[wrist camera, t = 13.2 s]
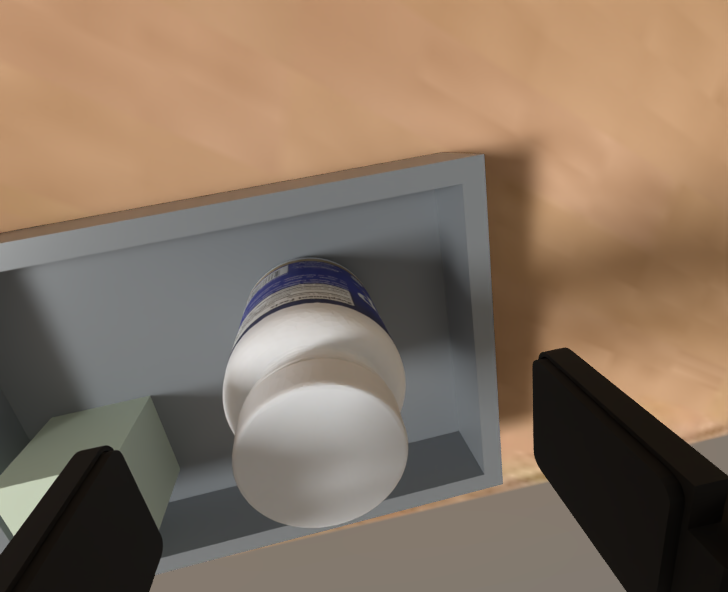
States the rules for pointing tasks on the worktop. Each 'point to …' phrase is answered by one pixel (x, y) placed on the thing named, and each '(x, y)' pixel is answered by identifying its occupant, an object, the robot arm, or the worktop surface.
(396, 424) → the pill bottle
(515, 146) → the worktop surface
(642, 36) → the worktop surface
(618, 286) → the worktop surface
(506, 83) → the worktop surface
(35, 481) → the sage block
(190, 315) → the bin
